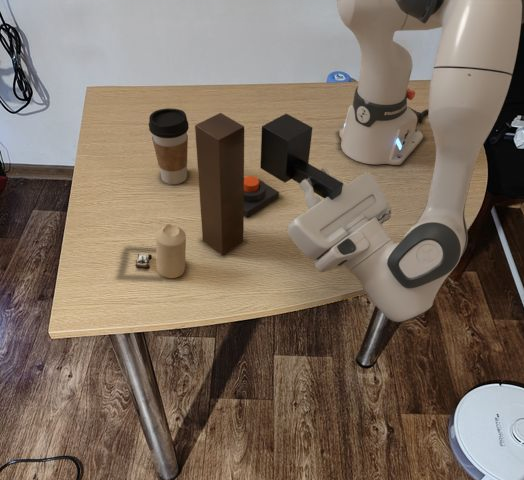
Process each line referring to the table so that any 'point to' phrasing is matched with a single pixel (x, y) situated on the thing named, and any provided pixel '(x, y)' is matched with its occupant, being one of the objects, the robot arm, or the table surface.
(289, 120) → the black hammer
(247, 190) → the switch button
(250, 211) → the switch plate
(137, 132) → the table surface
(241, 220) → the post
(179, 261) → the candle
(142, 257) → the toy car
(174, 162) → the coffee cup
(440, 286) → the robot arm
